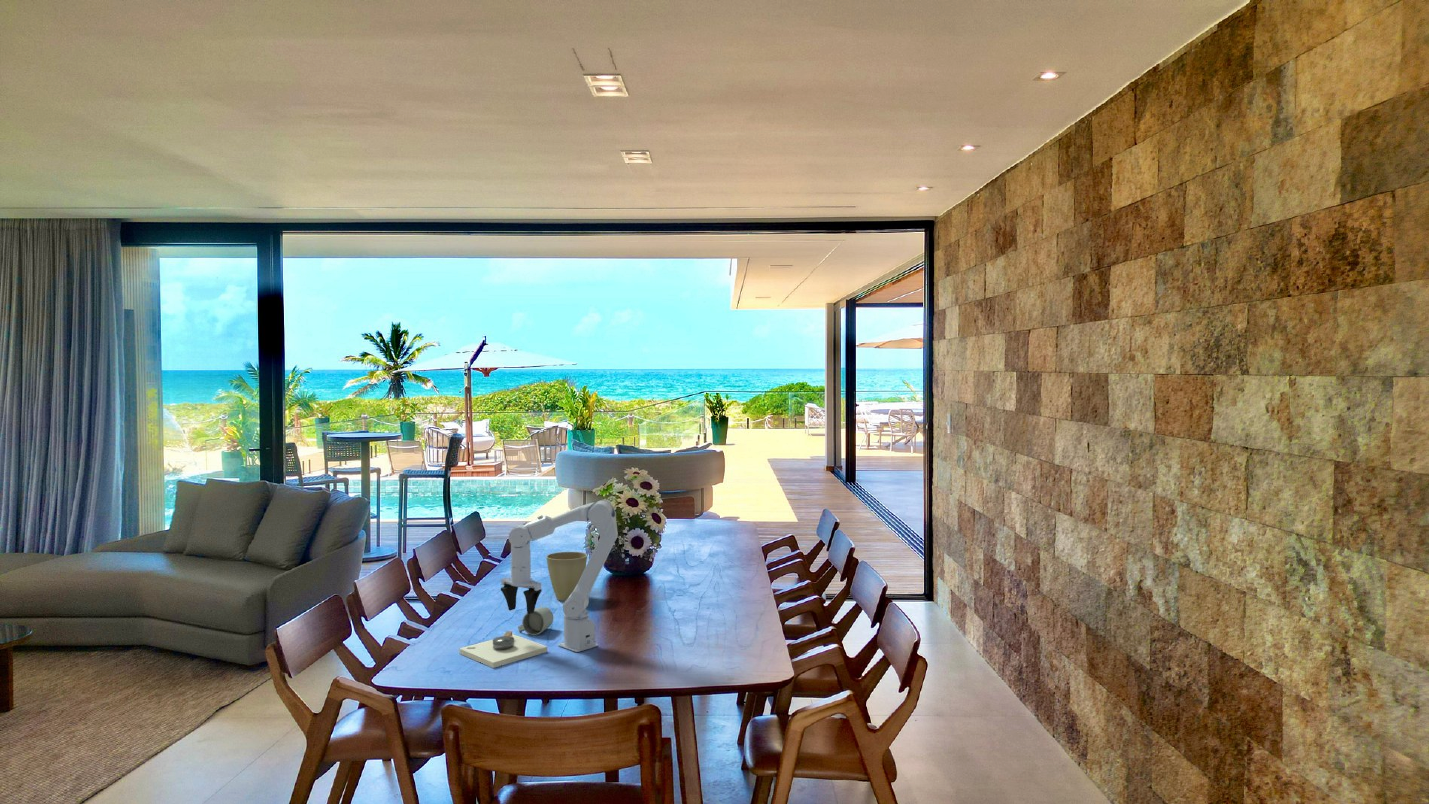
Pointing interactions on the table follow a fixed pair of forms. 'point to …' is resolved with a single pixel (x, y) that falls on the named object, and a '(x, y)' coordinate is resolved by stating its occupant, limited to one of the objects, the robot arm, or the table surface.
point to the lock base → (502, 652)
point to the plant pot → (565, 572)
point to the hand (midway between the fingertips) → (521, 611)
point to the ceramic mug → (537, 621)
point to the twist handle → (504, 641)
